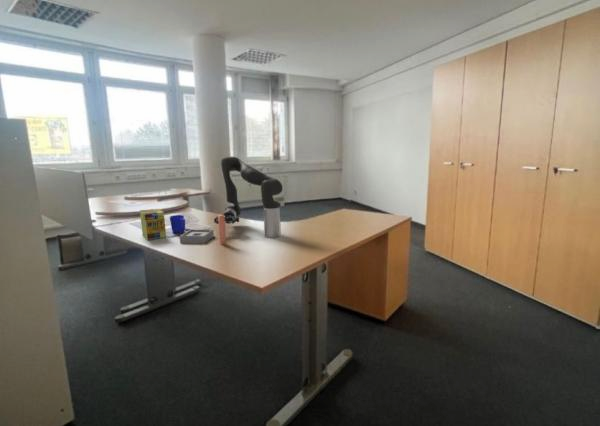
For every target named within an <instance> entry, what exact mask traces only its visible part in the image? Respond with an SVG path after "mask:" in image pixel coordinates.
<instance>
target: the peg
mask: <svg viewBox="0 0 600 426" xmlns="http://www.w3.org/2000/svg"><path fill="white" fill-rule="evenodd" d="M217 217H218V219H219V224H218V230H219V244H220V245H221V246H226V245H227V236H226V234H227V233H226V223H225V216H224V215H223V214H218V216H217Z"/></svg>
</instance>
